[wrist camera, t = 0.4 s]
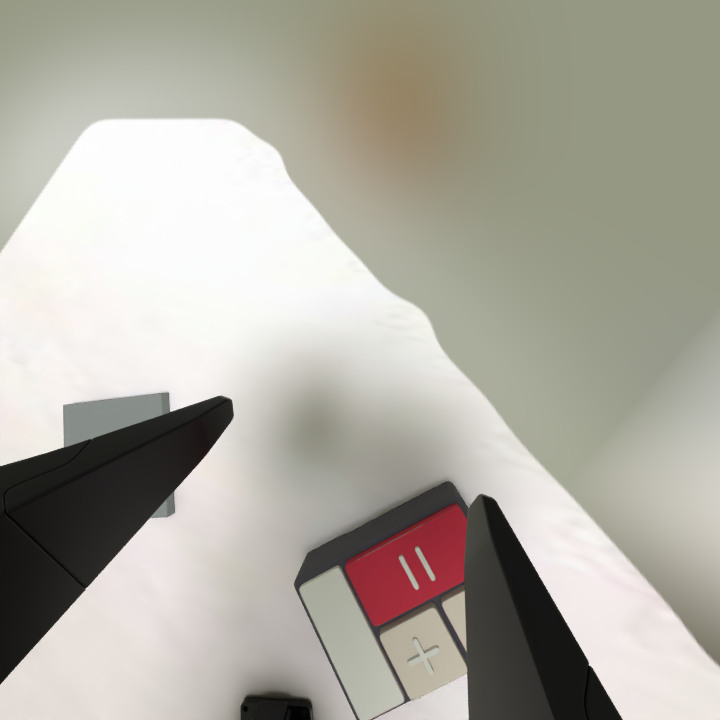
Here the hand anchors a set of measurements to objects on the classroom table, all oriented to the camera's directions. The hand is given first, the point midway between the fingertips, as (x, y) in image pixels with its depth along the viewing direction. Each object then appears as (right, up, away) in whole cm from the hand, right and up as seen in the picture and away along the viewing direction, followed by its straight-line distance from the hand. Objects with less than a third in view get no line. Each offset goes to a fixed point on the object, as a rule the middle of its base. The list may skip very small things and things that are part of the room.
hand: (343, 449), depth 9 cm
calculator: (+5, -16, +14) cm, 22 cm away
